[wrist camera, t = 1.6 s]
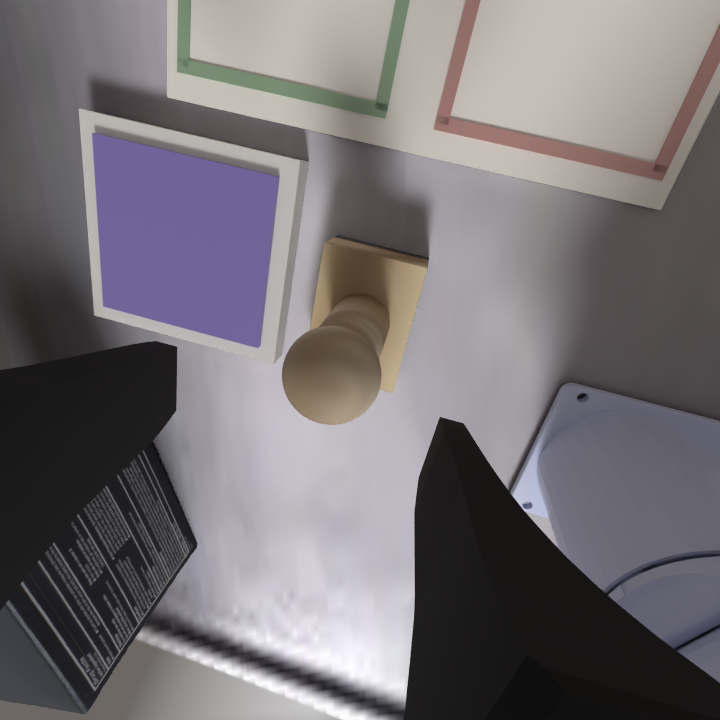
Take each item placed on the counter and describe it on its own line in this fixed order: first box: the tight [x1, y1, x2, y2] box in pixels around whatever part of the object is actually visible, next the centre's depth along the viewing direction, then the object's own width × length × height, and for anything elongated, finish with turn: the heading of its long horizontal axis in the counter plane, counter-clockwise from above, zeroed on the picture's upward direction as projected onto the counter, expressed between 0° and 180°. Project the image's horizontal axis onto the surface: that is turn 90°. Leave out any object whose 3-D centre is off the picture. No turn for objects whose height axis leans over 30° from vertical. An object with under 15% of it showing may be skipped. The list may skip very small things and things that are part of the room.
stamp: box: [282, 236, 429, 425], centre depth 16 cm, size 4×6×9 cm
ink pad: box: [79, 109, 309, 364], centre depth 20 cm, size 10×10×2 cm
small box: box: [0, 443, 197, 714], centre depth 24 cm, size 11×6×10 cm, turn 11°
